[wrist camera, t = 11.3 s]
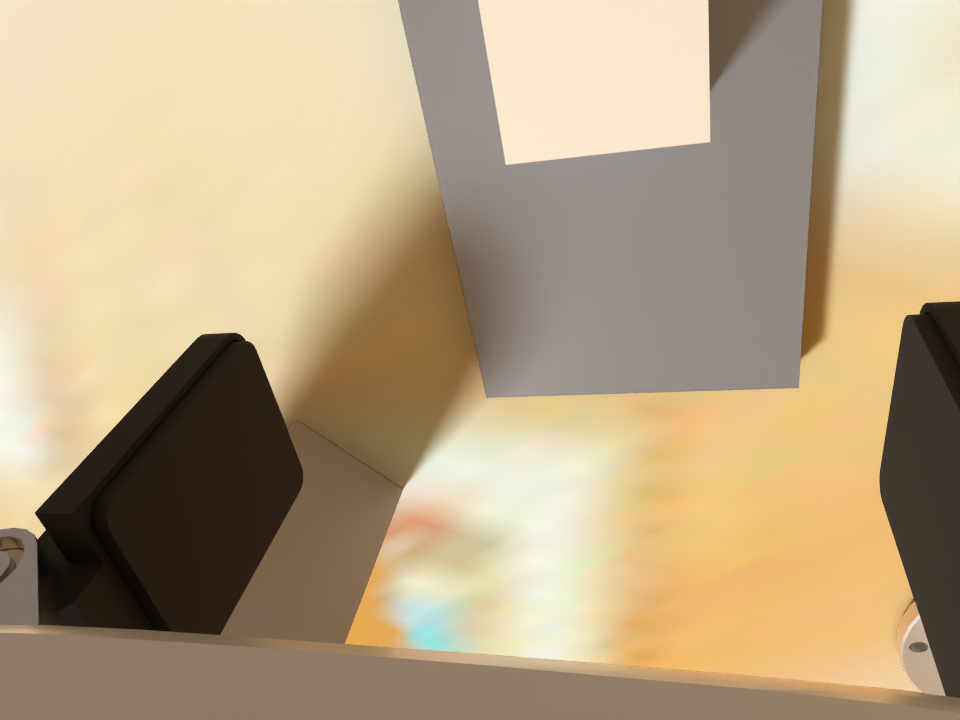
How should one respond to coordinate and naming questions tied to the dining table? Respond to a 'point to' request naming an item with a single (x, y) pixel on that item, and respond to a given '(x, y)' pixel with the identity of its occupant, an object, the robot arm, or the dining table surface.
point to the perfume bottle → (319, 549)
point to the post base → (633, 219)
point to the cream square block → (597, 75)
